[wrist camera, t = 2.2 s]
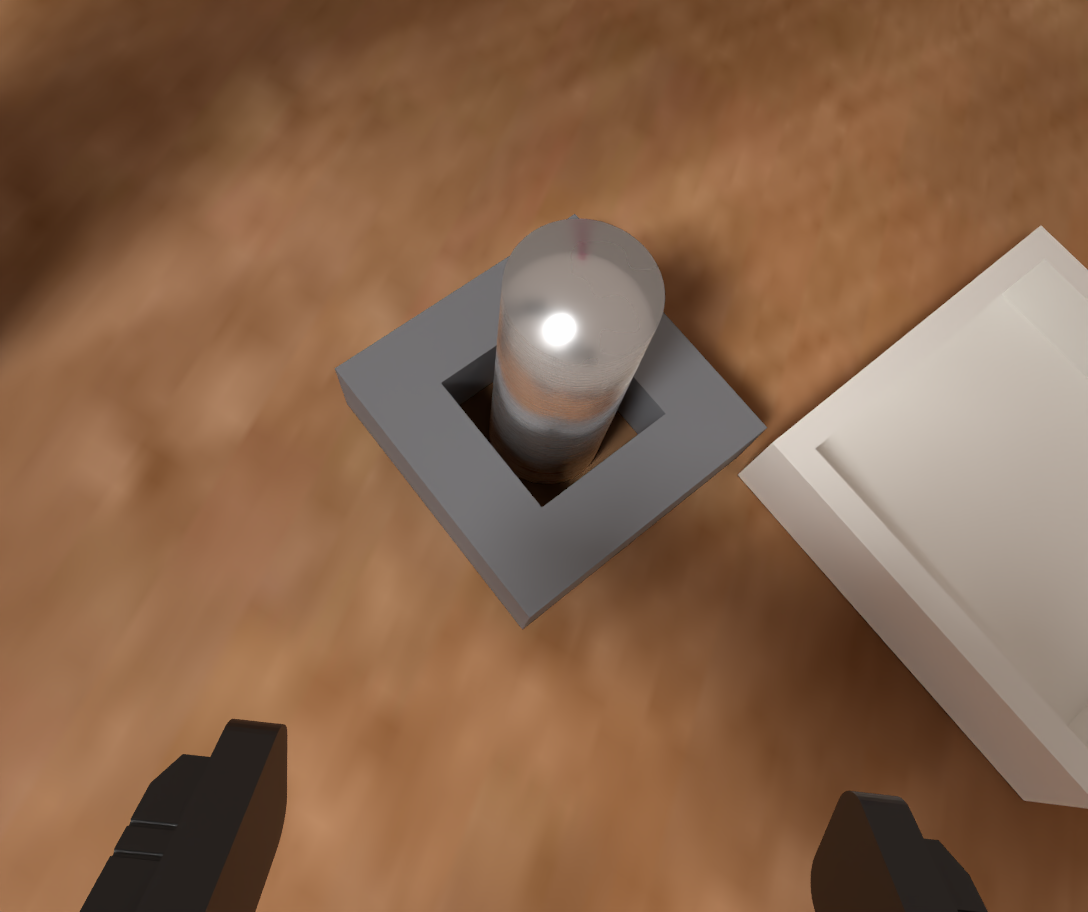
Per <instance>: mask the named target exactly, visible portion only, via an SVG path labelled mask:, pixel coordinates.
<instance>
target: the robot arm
mask: <svg viewBox="0 0 1088 912" xmlns="http://www.w3.org/2000/svg"><path fill="white" fill-rule="evenodd" d="M286 803H287V727H286V725H283V724H275V723H266V722H257V721H248V720H240V719H231V720H230V721H229V722H228V723H227V725H226V726H225V728H224V730H223V732H222V734H221V736H220V738H219V741H218V743H217V745H216V747H215V749H214V751H213V753H212V755H211V757H204V756H195V755H186V754H183V755H181V756H180V757H179V758H178V759H177V760H176V761H175V762H174V763H172V764H171V765H170V766H169V767H168V768H167V769H166V770H165V771H163V772H162V773H161V774H160V775H159V776H158V777H157V778H156V779H154V780H153V781H152V782H151V783H150V785H149V787H148V788H147V790H146V792H145V794H144V796H143V798H142V799H141V801H140V803H139V805H138V807H137V808H136V810H135V812H134V814H133V816H132V818H131V822H130V825H129V826H127V827H126V828H125V830H124V832H123V834H122V836H121V837H120V839H119V841H118V843H117V845H116V847H115V848H114V854H113V856H110V857H109V859H108V861H107V863H106V865H105V867H104V868H103V870H102V872H101V874H100V876H99V877H98V879H97V881H96V883H95V885H94V887H93V888H92V890H91V892H90V894H89V896H88V897H87V899H86V901H85V903H84V905H83V906H82V908H81V910H80V912H255V911H256V908H257V905H258V902H259V899H260V896H261V893H262V891H263V888H264V885H265V882H266V879H267V876H268V873H269V870H270V868H271V865H272V862H273V859H274V856H275V853H276V850H277V847H278V844H279V840H280V837H281V833H282V828H283V824H284V818H285V812H286ZM811 894H812V900H813V905H814V909H815V912H988V911H987V909H986V907H985V905H984V903H983V901H982V899H981V897H980V895H979V893H978V891H977V889H976V887H975V886H974V884H973V882H972V880H971V878H970V876H969V874H968V873H967V872H966V871H965V870H964V868H963V867H962V866H961V865H960V864H959V863H958V862H957V861H956V860H955V858H954V857H953V856H952V855H951V854H950V853H949V852H948V851H947V849H946V848H945V847H944V846H943V845H942V844H941V843H940V842H939V840H931V839H924V838H923V836H922V834H921V832H920V830H919V828H918V826H917V823H916V821H915V819H914V817H913V815H912V813H911V811H910V809H909V807H908V805H907V804H906V802H905V801H904V800H903V799H902V798H900V797H898V796H890V795H881V794H872V793H863V792H854V791H846V792H844V793H843V794H842V795H841V797H840V799H839V801H838V803H837V805H836V808H835V810H834V812H833V815H832V817H831V819H830V822H829V824H828V827H827V829H826V831H825V834H824V836H823V838H822V841H821V843H820V845H819V848H818V850H817V852H816V855H815V857H814V860H813V864H812V870H811Z"/></svg>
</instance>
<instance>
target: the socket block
mask: <svg viewBox="0 0 1088 912" xmlns="http://www.w3.org/2000/svg"><path fill="white" fill-rule="evenodd" d="M568 219H579V218H578V217H577V216H576V215H575V214H574V215H572V216H571V217H569V218H568ZM509 257H510V256H509ZM509 257H507V258H506V259H504V260H503V261H501V262H499V263H498V264H496V265H495V266H493V267H492V268H490V269H489V270H487V271H485V272H484V273H482V274H481V275H479V276H478V277H476V278H475V279H473V280H471V281H470V282H468V283H467V284H465V285H464V286H462V287H461V288H459V289H457V290H456V291H454V292H453V293H451V294H450V295H448V296H447V297H445V298H443V299H442V300H440V301H439V302H437V303H436V304H434V305H433V306H431V307H430V308H428V309H426V310H425V311H423V312H422V313H420V314H419V315H417V316H416V317H414V318H412V319H411V320H409V321H408V322H406V323H405V324H403V325H402V326H400V327H398V328H397V329H395V330H394V331H392V332H391V333H389V334H388V335H386V336H384V337H383V338H381V339H380V340H378V341H377V342H375V343H374V344H372V345H370V346H369V347H367V348H366V349H364V350H363V351H361V352H360V353H358V354H356V355H355V356H353V357H352V358H350V359H349V360H347V361H346V362H344V363H342V364H341V365H339V366H338V367H336V368H335V370H336V373H337V376H338V379H339V382H340V385H341V387H342V390H343V393H344V396H345V399H346V402H347V404H348V405H349V407H350V408H351V409H352V411H353V412H354V413H355V414H356V416H357V417H358V418H359V420H360V421H361V422H362V423H363V425H364V426H365V427H366V429H367V430H368V431H369V432H370V434H371V435H372V436H373V438H374V439H375V440H376V441H377V443H378V444H379V445H380V447H381V448H382V449H383V450H384V452H385V453H386V454H387V456H388V457H389V458H390V459H391V461H392V462H393V463H394V465H395V466H396V467H397V468H398V470H399V471H400V472H401V474H402V475H403V476H404V478H405V479H406V480H407V481H408V483H409V484H410V485H411V487H412V488H413V489H414V490H415V492H416V493H417V494H418V496H419V497H420V498H421V499H422V501H423V502H424V503H425V505H426V506H427V507H428V508H429V510H430V511H431V512H432V514H433V515H434V516H435V517H436V519H437V520H438V521H439V523H440V524H441V525H442V526H443V528H444V529H445V530H446V532H447V533H448V534H449V535H450V537H451V538H452V539H453V541H454V542H455V543H456V545H457V546H458V547H459V548H460V550H461V551H462V552H463V554H464V555H465V556H466V557H467V559H468V560H469V561H470V563H471V564H472V565H473V566H474V568H475V569H476V570H477V572H478V573H479V574H480V575H481V577H482V578H483V579H484V581H485V582H486V583H487V584H488V586H489V587H490V588H491V590H492V591H493V592H494V593H495V595H496V596H497V597H498V599H499V600H500V601H501V602H502V604H503V605H504V606H505V608H506V609H507V610H508V612H509V613H510V614H511V615H512V617H513V618H514V619H515V621H516V622H517V623H518V624H519V626H520V627H521V628H522V630H523V629H524V628H525V627H526V626H528V625H529V624H530V623H531V622H533V621H534V620H535V619H536V618H537V617H539V616H540V615H541V614H542V613H544V612H545V611H546V610H547V609H549V608H550V607H551V606H552V605H554V604H555V603H556V602H557V601H559V600H560V599H561V598H562V597H564V596H565V595H566V594H567V593H569V592H570V591H571V590H572V589H574V588H575V587H576V586H577V585H579V584H580V583H581V582H582V581H584V580H585V579H586V578H587V577H589V576H590V575H591V574H592V573H594V572H595V571H596V570H597V569H599V568H600V567H601V566H602V565H604V564H605V563H606V562H607V561H608V560H610V559H611V558H612V557H613V556H615V555H616V554H617V553H618V552H620V551H621V550H622V549H623V548H625V547H626V546H627V545H628V544H630V543H631V542H632V541H633V540H635V539H636V538H637V537H638V536H640V535H641V534H642V533H643V532H645V531H646V530H647V529H648V528H650V527H651V526H652V525H653V524H655V523H656V522H657V521H658V520H660V519H661V518H662V517H663V516H665V515H666V514H667V513H668V512H670V511H671V510H672V509H673V508H675V507H676V506H677V505H678V504H679V503H681V502H682V501H683V500H684V499H686V498H687V497H688V496H689V495H691V494H692V493H693V492H694V491H696V490H697V489H698V488H699V487H701V486H702V485H703V484H704V483H706V482H707V481H708V480H709V479H711V478H712V477H713V476H714V475H716V474H717V473H718V472H719V471H721V470H722V469H723V468H724V467H726V466H727V465H728V464H729V463H731V462H732V461H733V460H734V459H736V458H737V457H738V456H739V455H740V454H741V453H742V452H743V451H744V450H745V449H746V448H747V447H748V446H749V445H750V444H751V443H752V442H753V441H754V440H755V439H756V438H757V437H758V436H759V435H760V434H761V433H762V432H763V431H764V430H765V429H766V428H767V427H766V426H765V425H764V423H763V422H762V421H761V420H760V419H759V418H758V417H757V416H756V415H755V413H754V412H753V411H752V410H751V409H750V408H749V407H748V406H747V405H746V403H745V402H744V401H743V400H742V399H741V398H740V397H739V396H738V395H737V393H736V392H735V391H734V390H733V389H732V388H731V387H730V386H729V385H728V383H727V382H726V381H725V380H724V379H723V378H722V377H721V376H720V375H719V374H718V372H717V371H716V370H715V369H714V368H713V367H712V366H711V365H710V364H709V362H708V361H707V360H706V359H705V358H704V357H703V356H702V355H701V354H700V352H699V351H698V350H697V349H696V348H695V347H694V346H693V345H692V344H691V342H690V341H689V340H688V339H687V338H686V337H685V336H684V335H683V334H682V332H681V331H680V330H679V329H678V328H677V327H676V326H675V325H674V324H673V322H672V321H671V320H670V319H669V318H668V317H667V316H666V315H665V314H664V312H663V314H662V317H661V320H660V322H659V324H658V327H657V329H656V331H655V333H654V335H653V337H652V339H651V341H650V343H649V345H648V347H647V349H646V351H645V353H644V356H643V358H642V360H641V362H640V364H639V366H638V368H637V370H636V372H635V374H634V376H633V378H632V380H631V382H630V385H629V387H628V389H627V391H626V393H625V395H624V397H623V399H622V401H621V403H620V405H619V407H618V409H617V411H618V412H619V413H620V414H621V415H622V416H623V417H624V419H625V420H626V421H627V422H628V423H629V424H630V426H631V427H632V428H633V429H634V430H635V431H636V433H637V434H638V435H637V436H636V437H634V438H633V439H632V440H630V441H629V442H628V443H626V444H625V445H624V446H622V447H621V448H620V449H618V450H617V451H616V452H615V453H613V454H612V455H611V456H609V457H608V458H607V459H605V460H604V461H603V462H601V463H600V464H599V465H597V466H596V467H595V468H593V469H592V470H591V471H589V472H588V473H587V474H586V475H584V476H583V477H582V478H580V479H579V480H578V481H576V482H575V483H574V484H572V485H571V486H570V487H568V488H567V489H566V490H564V491H563V492H562V493H560V494H559V495H558V496H556V497H555V498H554V499H553V500H551V501H550V502H549V503H547V504H546V505H545V506H543V507H541V506H540V505H539V503H538V502H537V501H536V500H535V498H534V497H533V496H532V495H531V494H530V492H529V491H528V490H527V489H526V487H525V486H524V485H523V484H522V482H521V481H520V480H519V479H518V477H517V476H516V475H515V474H514V473H513V471H512V470H511V469H510V468H509V466H508V465H507V464H506V463H505V461H504V460H503V459H502V458H501V457H500V455H499V454H498V453H497V452H496V450H495V449H494V448H493V447H492V445H491V444H490V443H489V442H488V440H487V439H486V438H485V437H484V436H483V434H482V433H481V432H480V431H479V429H478V428H477V427H476V426H475V424H474V423H473V422H472V421H471V420H470V418H469V417H468V416H467V415H466V413H465V412H464V411H463V410H462V408H461V407H460V406H459V405H461V404H462V403H463V402H465V401H466V400H468V399H469V398H471V397H472V396H474V395H475V394H476V393H478V392H479V391H481V390H482V389H484V388H485V387H487V386H488V385H489V384H491V383H492V382H493V381H494V370H495V359H496V347H497V336H498V325H499V313H500V302H501V291H502V279H503V274H504V269H505V266H506V263H507V261H508V259H509Z"/></svg>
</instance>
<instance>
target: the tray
mask: <svg viewBox="0 0 1088 912" xmlns="http://www.w3.org/2000/svg"><path fill="white" fill-rule="evenodd" d="M738 476H739V477H740V478H741V479H742V480H743V482H744V483H745V484H746V485H747V486H748V487H749V488H750V489H751V491H752V492H753V493H754V494H755V495H756V496H757V497H758V499H759V500H760V501H761V502H762V503H763V504H764V505H765V507H766V508H767V509H768V510H769V511H770V512H771V513H772V515H773V516H774V517H775V518H776V519H777V520H778V521H779V523H780V524H781V525H782V526H783V527H784V528H785V529H786V530H787V532H788V533H789V534H790V535H791V536H792V537H793V538H794V540H795V541H796V542H797V543H798V544H799V545H800V546H801V548H802V549H803V550H804V551H805V552H806V553H807V554H808V556H809V557H810V558H811V559H812V560H813V561H814V562H815V563H816V565H817V566H818V567H819V568H820V569H821V570H822V571H823V573H824V574H825V575H826V576H827V577H828V578H829V579H830V581H831V582H832V583H833V584H834V585H835V586H836V587H837V589H838V590H839V591H840V592H841V593H842V594H843V595H844V597H845V598H846V599H847V600H848V601H849V602H850V603H851V604H852V606H853V607H854V608H855V609H856V610H857V611H858V612H859V614H860V615H861V616H862V617H863V618H864V619H865V620H866V622H867V623H868V624H869V625H870V626H871V627H872V628H873V630H874V631H875V632H876V633H877V634H878V635H879V636H880V638H881V639H882V640H883V641H884V642H885V643H886V644H887V645H888V647H889V648H890V649H891V650H892V651H893V652H894V653H895V655H896V656H897V657H898V658H899V659H900V660H901V661H902V663H903V664H904V665H905V666H906V667H907V668H908V669H909V671H910V672H911V673H912V674H913V675H914V676H915V677H916V678H917V680H918V681H919V682H920V683H921V684H922V685H923V686H924V688H925V689H926V690H927V691H928V692H929V693H930V694H931V696H932V697H933V698H934V699H935V700H936V701H937V702H938V704H939V705H940V706H941V707H942V708H943V709H944V710H945V712H946V713H947V714H948V715H949V716H950V717H951V718H952V719H953V721H954V722H955V723H956V724H957V725H958V726H959V727H960V729H961V730H962V731H963V732H964V733H965V734H966V735H967V737H968V738H969V739H970V740H971V741H972V742H973V743H974V745H975V746H976V747H977V748H978V749H979V750H980V751H981V752H982V754H983V755H984V756H985V757H986V758H987V759H988V760H989V762H990V763H991V764H992V765H993V766H994V767H995V768H996V770H997V771H998V772H999V773H1000V774H1001V775H1002V776H1003V778H1004V779H1005V780H1006V781H1007V782H1008V783H1009V784H1010V786H1011V787H1012V788H1013V789H1014V790H1015V791H1016V792H1017V793H1018V795H1019V796H1020V797H1021V798H1022V799H1023V800H1024V801H1031V802H1039V803H1047V804H1055V805H1063V806H1071V807H1079V808H1087V809H1088V270H1087V269H1086V268H1085V267H1084V266H1083V265H1082V264H1081V263H1080V262H1079V261H1078V260H1077V259H1076V258H1075V257H1074V256H1073V255H1072V254H1071V253H1069V252H1068V251H1067V250H1066V249H1065V248H1064V247H1063V246H1062V245H1061V244H1060V243H1059V242H1058V241H1057V240H1056V239H1055V238H1054V237H1053V236H1052V235H1051V234H1049V233H1048V232H1047V231H1046V230H1045V229H1044V228H1043V227H1042V226H1039V227H1038V228H1037V229H1036V230H1035V231H1033V232H1032V233H1031V234H1030V235H1028V236H1027V237H1026V238H1025V239H1023V240H1022V241H1021V242H1020V243H1018V244H1017V245H1016V246H1015V247H1014V248H1012V249H1011V250H1010V251H1009V252H1007V253H1006V254H1005V255H1004V256H1002V257H1001V258H1000V259H999V260H997V261H996V262H995V263H994V264H993V265H991V266H990V267H989V268H988V269H986V270H985V271H984V272H983V273H981V274H980V275H979V276H978V277H976V278H975V279H974V280H973V281H971V282H970V283H969V284H968V285H967V286H965V287H964V288H963V289H962V290H960V291H959V292H958V293H957V294H955V295H954V296H953V297H952V298H950V299H949V300H948V301H947V302H946V303H944V304H943V305H942V306H941V307H939V308H938V309H937V310H936V311H934V312H933V313H932V314H931V315H929V316H928V317H927V318H926V319H925V320H923V321H922V322H921V323H920V324H918V325H917V326H916V327H915V328H913V329H912V330H911V331H910V332H908V333H907V334H906V335H905V336H904V337H902V338H901V339H900V340H899V341H897V342H896V343H895V344H894V345H892V346H891V347H890V348H889V349H887V350H886V351H885V352H884V353H883V354H881V355H880V356H879V357H878V358H876V359H875V360H874V361H873V362H871V363H870V364H869V365H868V366H866V367H865V368H864V369H863V370H862V371H860V372H859V373H858V374H857V375H855V376H854V377H853V378H852V379H850V380H849V381H848V382H847V383H845V384H844V385H843V386H842V387H840V388H839V389H838V390H837V391H836V392H834V393H833V394H832V395H831V396H829V397H828V398H827V399H826V400H824V401H823V402H822V403H821V404H819V405H818V406H817V407H816V408H815V409H813V410H812V411H811V412H810V413H808V414H807V415H806V416H805V417H803V418H802V419H801V420H800V421H798V422H797V423H796V424H795V425H794V426H792V427H791V428H790V429H789V430H787V431H786V432H785V433H784V434H782V435H781V436H780V437H779V438H777V439H776V440H775V441H774V442H773V443H771V444H770V445H769V446H768V447H767V448H766V449H765V450H764V451H763V452H762V453H761V454H760V455H758V456H757V457H756V458H755V459H754V460H753V461H752V462H751V463H750V464H749V465H748V466H747V467H746V468H744V469H743V470H742V471H741V472H740V473H739V474H738Z"/></svg>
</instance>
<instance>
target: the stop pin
mask: <svg viewBox="0 0 1088 912" xmlns="http://www.w3.org/2000/svg"><path fill="white" fill-rule="evenodd" d="M664 304H665V289H664V282H663V279H662V275H661V272H660V270H659V268H658V266H657V264H656V262H655V260H654V259H653V257H652V255H651V254H650V253H649V252H648V251H647V249H646V248H645V247H644V246H643V245H642V244H641V243H640V242H639V241H638V240H636V239H635V238H634V237H632V236H631V235H630V234H628V233H627V232H625V231H623V230H622V229H619V228H617V227H615V226H613V225H610V224H607V223H604V222H601V221H596V220H590V219H566V220H560V221H556V222H552V223H549V224H547V225H544V226H542V227H540V228H538V229H536V230H534V231H533V232H531V233H530V234H529V235H527V236H526V237H525V238H524V239H523V240H522V241H521V242H520V243H519V244H518V245H517V246H516V248H515V249H514V250H513V252H512V253H511V255H510V257H509V259H508V261H507V263H506V266H505V269H504V274H503V279H502V291H501V302H500V313H499V325H498V336H497V347H496V359H495V370H494V381H493V392H492V404H491V415H490V427H489V432H490V440H491V444H492V447H493V448H494V449H495V450H496V452H497V453H498V454H499V455H500V457H501V458H502V459H503V460H504V461H505V463H506V464H507V465H508V466H509V468H510V469H511V470H512V471H513V473H514V474H515V475H516V476H518V477H520V478H522V479H524V480H526V481H530V482H533V483H538V484H555V483H561V482H564V481H567V480H569V479H572V478H574V477H575V476H577V475H578V474H580V473H581V472H582V471H584V470H585V469H586V468H587V467H588V465H589V464H590V463H591V462H592V460H593V459H594V457H595V455H596V453H597V451H598V449H599V447H600V445H601V442H602V440H603V438H604V436H605V434H606V432H607V430H608V428H609V426H610V424H611V422H612V420H613V418H614V416H615V413H616V411H617V409H618V407H619V405H620V403H621V401H622V399H623V397H624V395H625V393H626V391H627V389H628V387H629V385H630V382H631V380H632V378H633V376H634V374H635V372H636V370H637V368H638V366H639V364H640V362H641V360H642V358H643V356H644V353H645V351H646V349H647V347H648V345H649V343H650V341H651V339H652V337H653V335H654V333H655V331H656V329H657V327H658V324H659V322H660V320H661V317H662V314H663V311H664Z"/></svg>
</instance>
